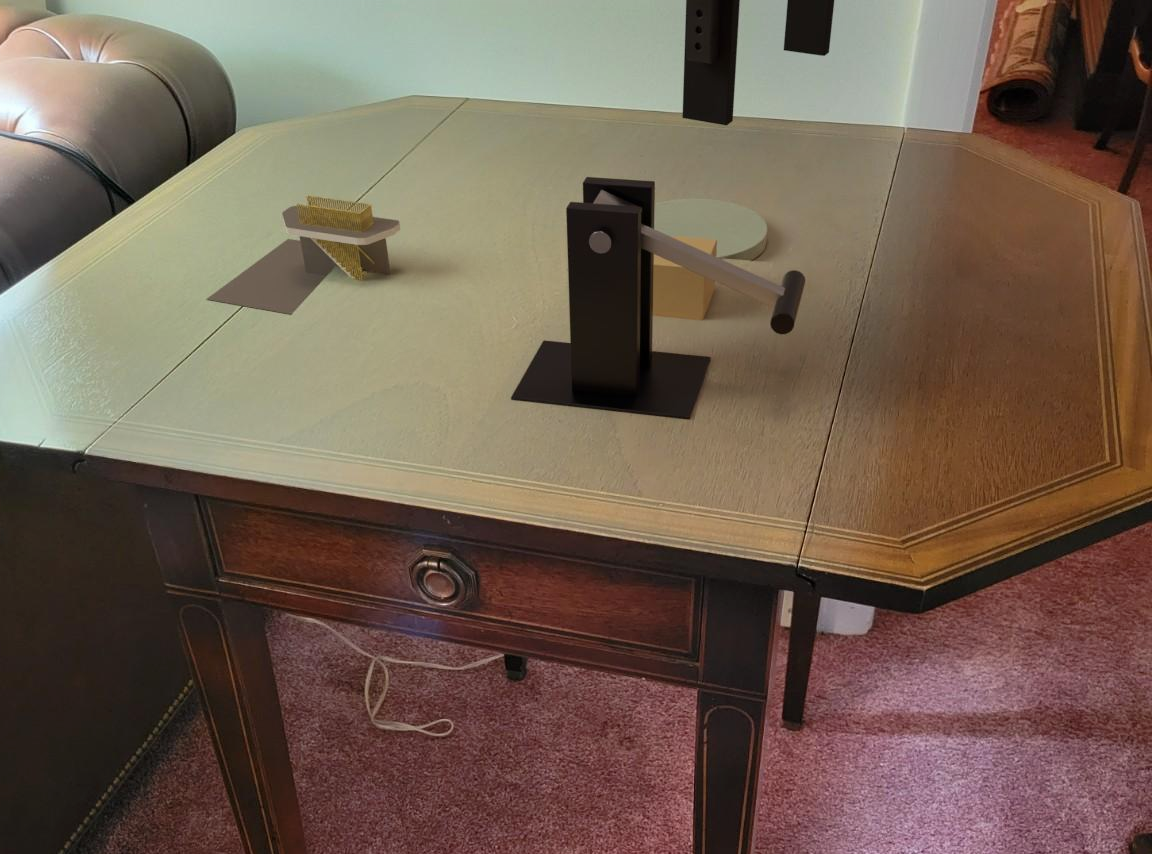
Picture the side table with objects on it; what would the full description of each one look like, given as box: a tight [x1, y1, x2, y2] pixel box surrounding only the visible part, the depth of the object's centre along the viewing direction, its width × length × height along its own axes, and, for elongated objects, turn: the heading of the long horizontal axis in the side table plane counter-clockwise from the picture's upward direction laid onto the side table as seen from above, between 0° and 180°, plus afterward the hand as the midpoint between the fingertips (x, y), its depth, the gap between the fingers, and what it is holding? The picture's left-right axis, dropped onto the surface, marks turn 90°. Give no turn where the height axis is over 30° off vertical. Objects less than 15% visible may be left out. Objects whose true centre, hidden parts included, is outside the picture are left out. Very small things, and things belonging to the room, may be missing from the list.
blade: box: [594, 190, 806, 335], centre depth 75 cm, size 14×6×2 cm, turn 74°
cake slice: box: [653, 236, 717, 321], centre depth 90 cm, size 5×5×5 cm
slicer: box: [510, 176, 712, 420], centre depth 78 cm, size 12×8×14 cm, turn 75°
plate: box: [654, 198, 769, 262], centre depth 101 cm, size 12×12×1 cm
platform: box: [206, 194, 401, 315], centre depth 95 cm, size 12×18×7 cm, turn 67°
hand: (759, 84), depth 71 cm, fingers open, 13 cm apart
